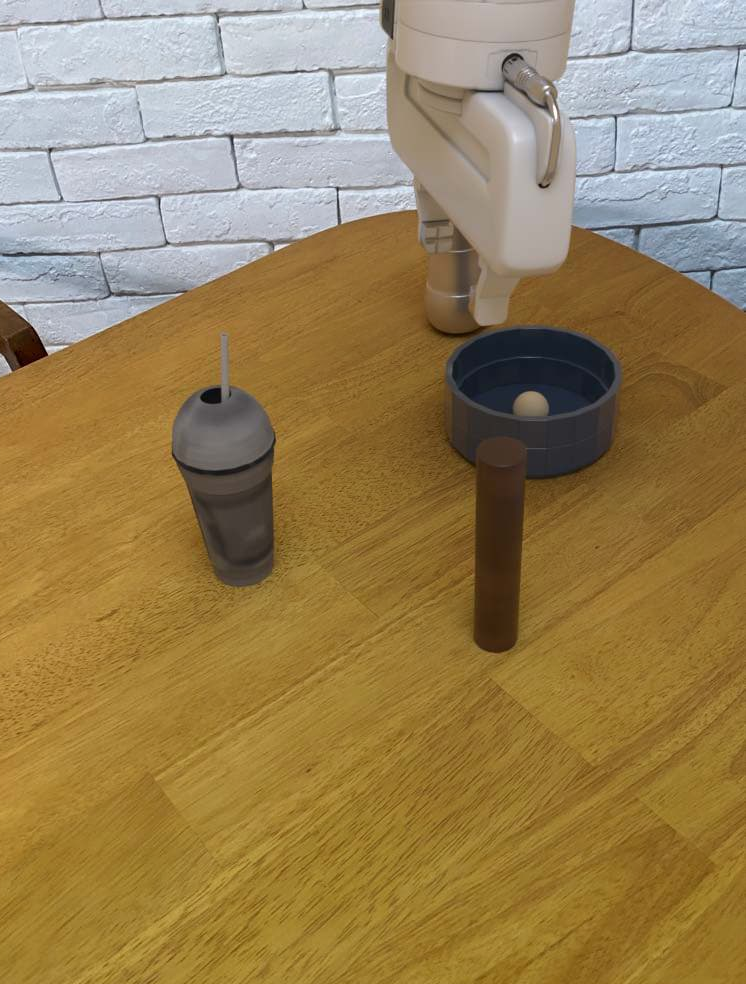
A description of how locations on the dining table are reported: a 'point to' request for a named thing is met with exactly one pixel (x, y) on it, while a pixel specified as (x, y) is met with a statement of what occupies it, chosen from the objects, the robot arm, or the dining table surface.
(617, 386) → the bowl
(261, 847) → the dining table surface
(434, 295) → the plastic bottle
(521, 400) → the dough ball
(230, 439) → the beverage cup
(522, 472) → the stick
